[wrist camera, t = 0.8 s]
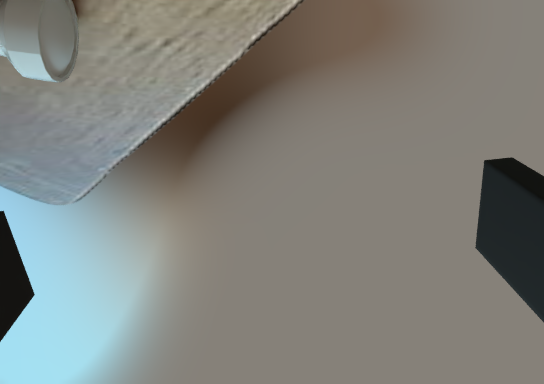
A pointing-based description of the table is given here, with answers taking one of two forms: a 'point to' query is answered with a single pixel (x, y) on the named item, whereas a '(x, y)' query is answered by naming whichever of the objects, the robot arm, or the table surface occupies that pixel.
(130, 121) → the table surface
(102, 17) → the table surface
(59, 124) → the table surface
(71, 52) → the spotlight
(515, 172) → the robot arm
